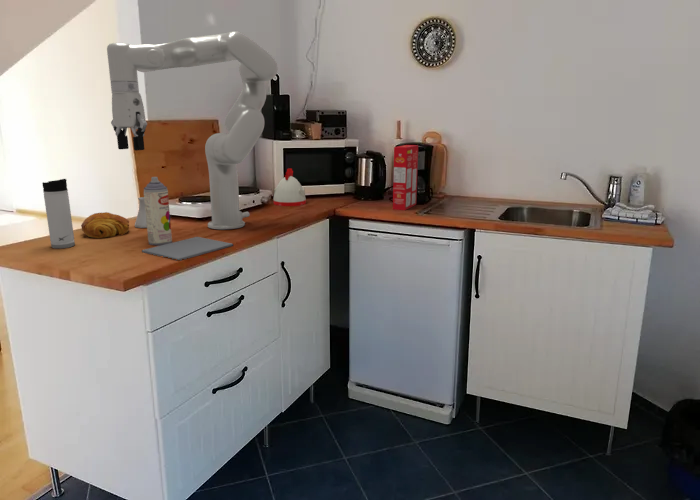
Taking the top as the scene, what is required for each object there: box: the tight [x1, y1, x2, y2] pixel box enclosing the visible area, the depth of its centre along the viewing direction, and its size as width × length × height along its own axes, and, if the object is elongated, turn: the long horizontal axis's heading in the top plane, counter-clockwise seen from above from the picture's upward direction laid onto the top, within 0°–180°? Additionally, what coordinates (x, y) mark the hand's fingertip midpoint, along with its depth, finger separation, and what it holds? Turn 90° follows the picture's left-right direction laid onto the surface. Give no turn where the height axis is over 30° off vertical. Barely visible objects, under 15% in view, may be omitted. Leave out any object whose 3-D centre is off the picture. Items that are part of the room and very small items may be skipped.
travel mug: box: [41, 178, 76, 250], centre depth 156 cm, size 6×7×20 cm
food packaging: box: [392, 144, 419, 211], centre depth 221 cm, size 15×5×25 cm, turn 155°
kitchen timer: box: [272, 168, 307, 207], centre depth 229 cm, size 14×14×15 cm
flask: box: [134, 196, 147, 229], centre depth 185 cm, size 7×7×10 cm
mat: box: [141, 236, 234, 261], centre depth 156 cm, size 20×16×1 cm
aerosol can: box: [143, 176, 173, 246], centre depth 161 cm, size 7×7×20 cm
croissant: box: [81, 211, 130, 239], centre depth 175 cm, size 14×16×8 cm
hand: (131, 149), depth 162 cm, fingers open, 7 cm apart
